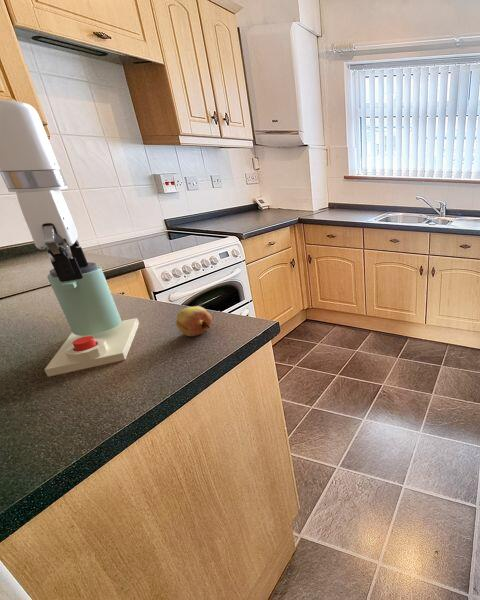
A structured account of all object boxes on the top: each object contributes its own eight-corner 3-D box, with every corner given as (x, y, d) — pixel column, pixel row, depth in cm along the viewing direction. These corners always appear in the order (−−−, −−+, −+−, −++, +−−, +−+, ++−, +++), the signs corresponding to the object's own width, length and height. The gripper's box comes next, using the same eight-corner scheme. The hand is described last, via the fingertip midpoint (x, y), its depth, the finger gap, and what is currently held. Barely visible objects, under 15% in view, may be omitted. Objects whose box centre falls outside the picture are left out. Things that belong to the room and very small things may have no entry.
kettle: (115, 333, 72) (91, 272, 66) (64, 343, 68) (34, 279, 63) (126, 311, 82) (106, 257, 77) (82, 319, 79) (57, 262, 73)
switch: (94, 349, 67) (91, 341, 66) (73, 353, 66) (69, 345, 65) (98, 342, 70) (95, 334, 69) (78, 345, 68) (75, 338, 68)
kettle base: (125, 360, 69) (119, 345, 68) (47, 377, 64) (39, 361, 62) (139, 324, 84) (134, 311, 82) (77, 335, 78) (71, 322, 77)
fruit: (160, 312, 76) (184, 322, 71) (188, 295, 81) (212, 303, 76) (176, 335, 80) (200, 345, 75) (202, 317, 85) (226, 326, 80)
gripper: (18, 180, 64) (57, 266, 71) (-11, 186, 51) (40, 290, 58) (71, 177, 68) (102, 259, 75) (56, 183, 55) (96, 281, 62)
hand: (75, 273), depth 66 cm, fingers open, 9 cm apart
